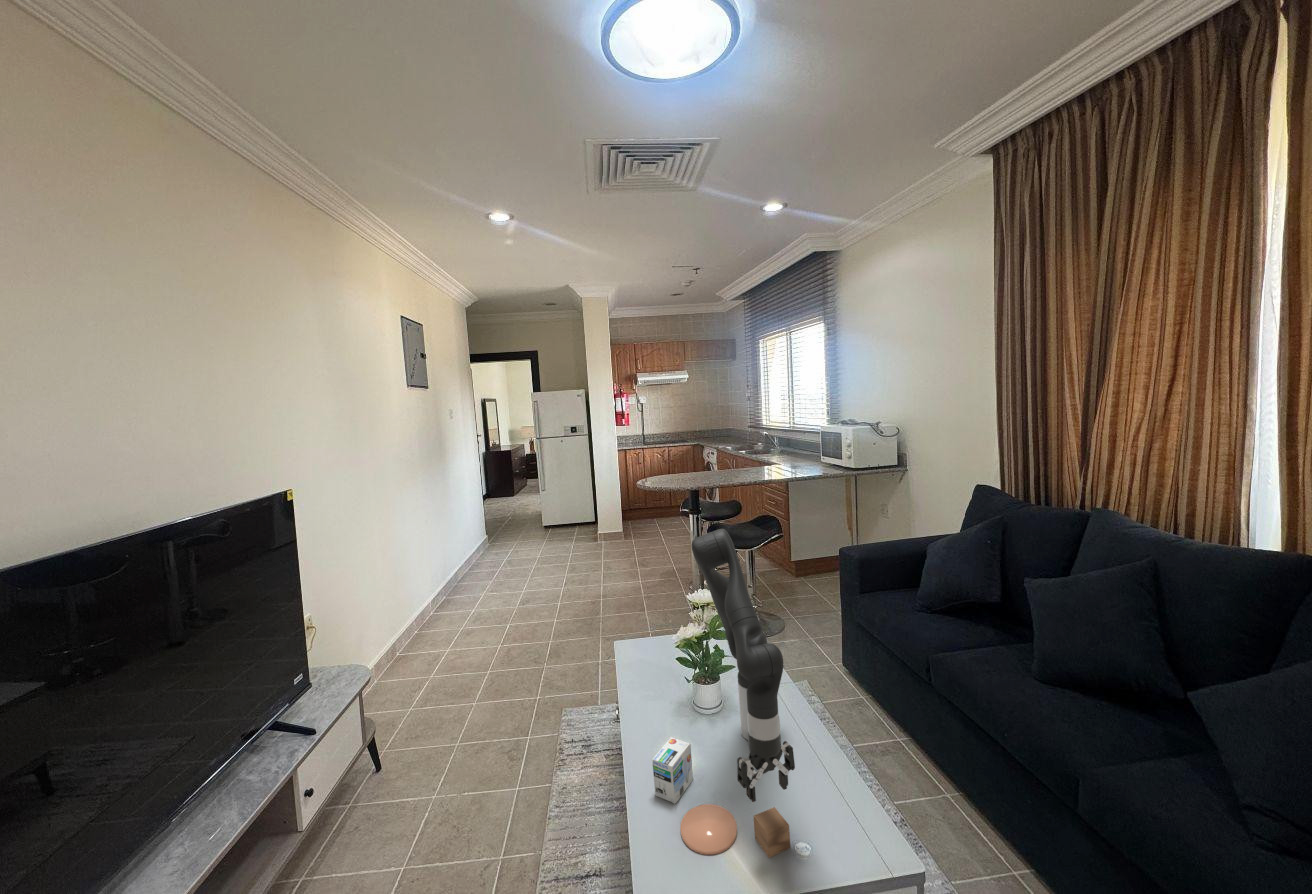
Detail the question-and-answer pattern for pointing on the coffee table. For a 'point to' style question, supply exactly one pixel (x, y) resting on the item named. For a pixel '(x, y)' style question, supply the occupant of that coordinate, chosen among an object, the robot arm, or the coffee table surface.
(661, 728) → the coffee table surface
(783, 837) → the walnut cube
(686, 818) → the terracotta coaster
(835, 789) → the coffee table surface
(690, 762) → the light bulb box
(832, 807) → the coffee table surface
